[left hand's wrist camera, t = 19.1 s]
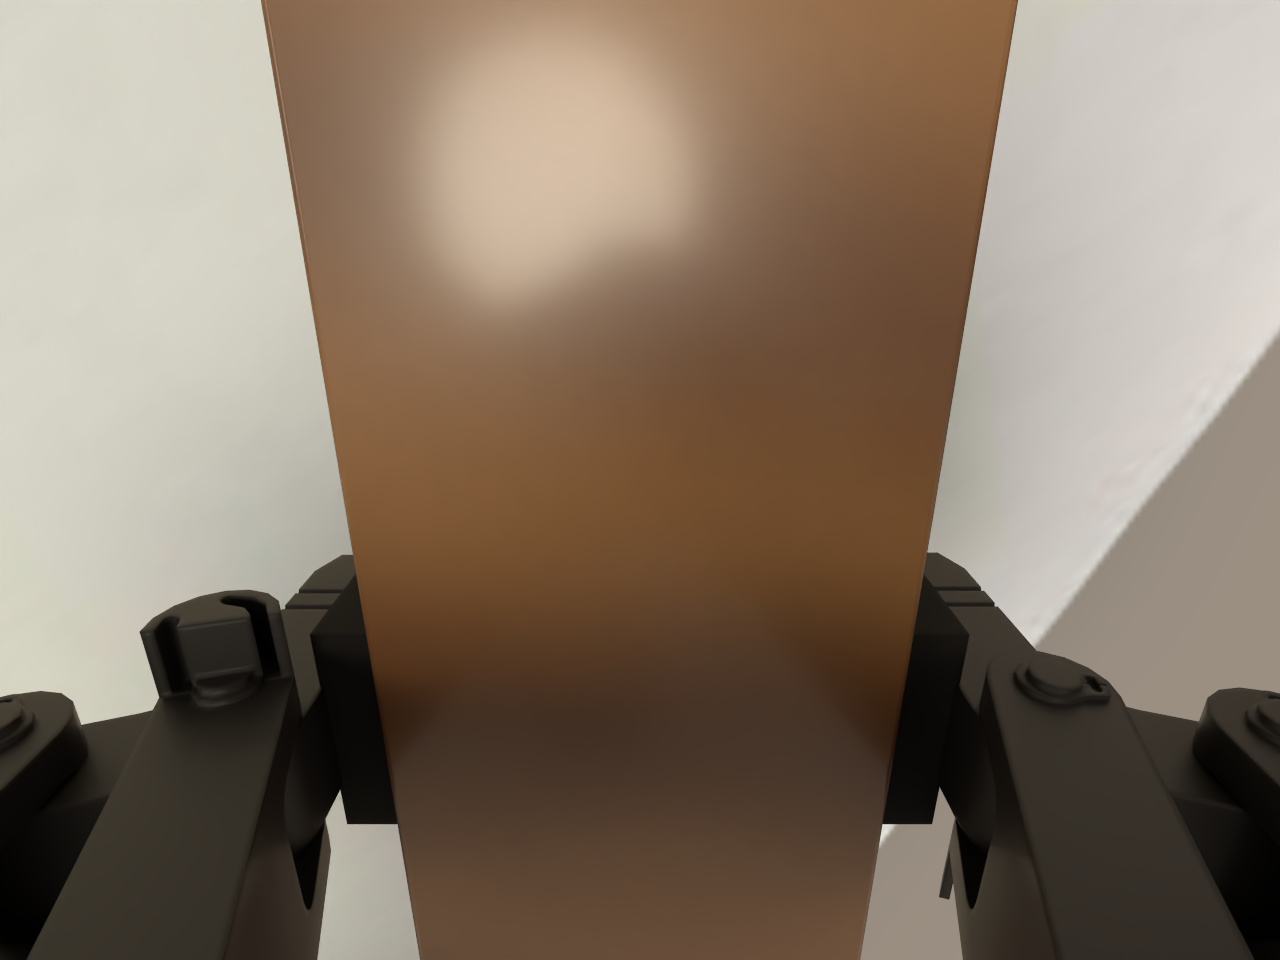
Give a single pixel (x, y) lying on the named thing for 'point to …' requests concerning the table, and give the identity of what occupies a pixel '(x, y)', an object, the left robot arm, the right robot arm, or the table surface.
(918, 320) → the post
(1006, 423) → the table surface
